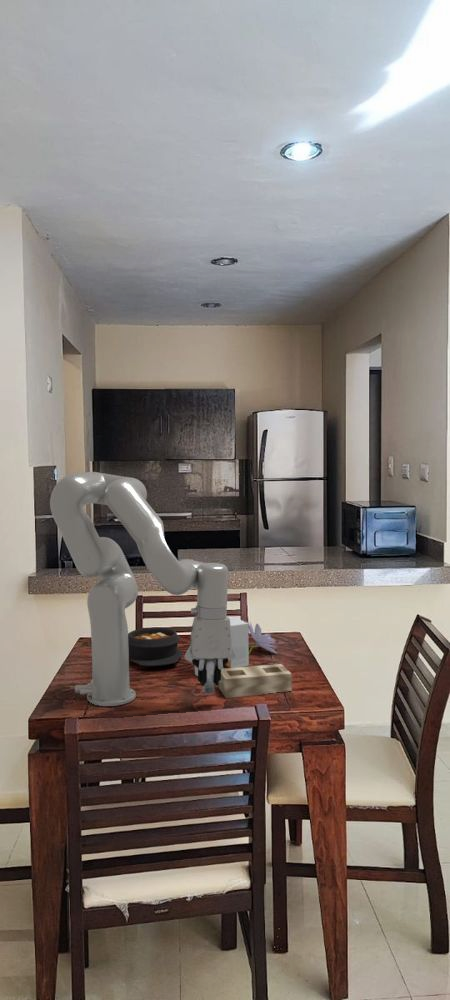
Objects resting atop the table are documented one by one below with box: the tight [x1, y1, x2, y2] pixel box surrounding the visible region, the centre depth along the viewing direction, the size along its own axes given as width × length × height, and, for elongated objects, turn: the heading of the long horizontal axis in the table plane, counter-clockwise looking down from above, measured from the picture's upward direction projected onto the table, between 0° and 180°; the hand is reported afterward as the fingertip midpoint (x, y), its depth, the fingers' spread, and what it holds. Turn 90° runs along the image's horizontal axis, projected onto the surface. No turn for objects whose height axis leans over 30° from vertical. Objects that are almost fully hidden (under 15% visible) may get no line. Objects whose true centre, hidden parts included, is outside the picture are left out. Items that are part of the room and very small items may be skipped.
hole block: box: [217, 663, 293, 699], centre depth 198 cm, size 18×9×5 cm, turn 103°
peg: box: [202, 659, 216, 695], centre depth 186 cm, size 3×3×10 cm
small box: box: [225, 617, 250, 668], centre depth 221 cm, size 8×6×13 cm
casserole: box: [128, 627, 184, 667], centre depth 226 cm, size 25×19×8 cm
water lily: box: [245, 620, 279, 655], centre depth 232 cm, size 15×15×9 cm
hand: (209, 683), depth 186 cm, fingers closed on peg, 3 cm apart
